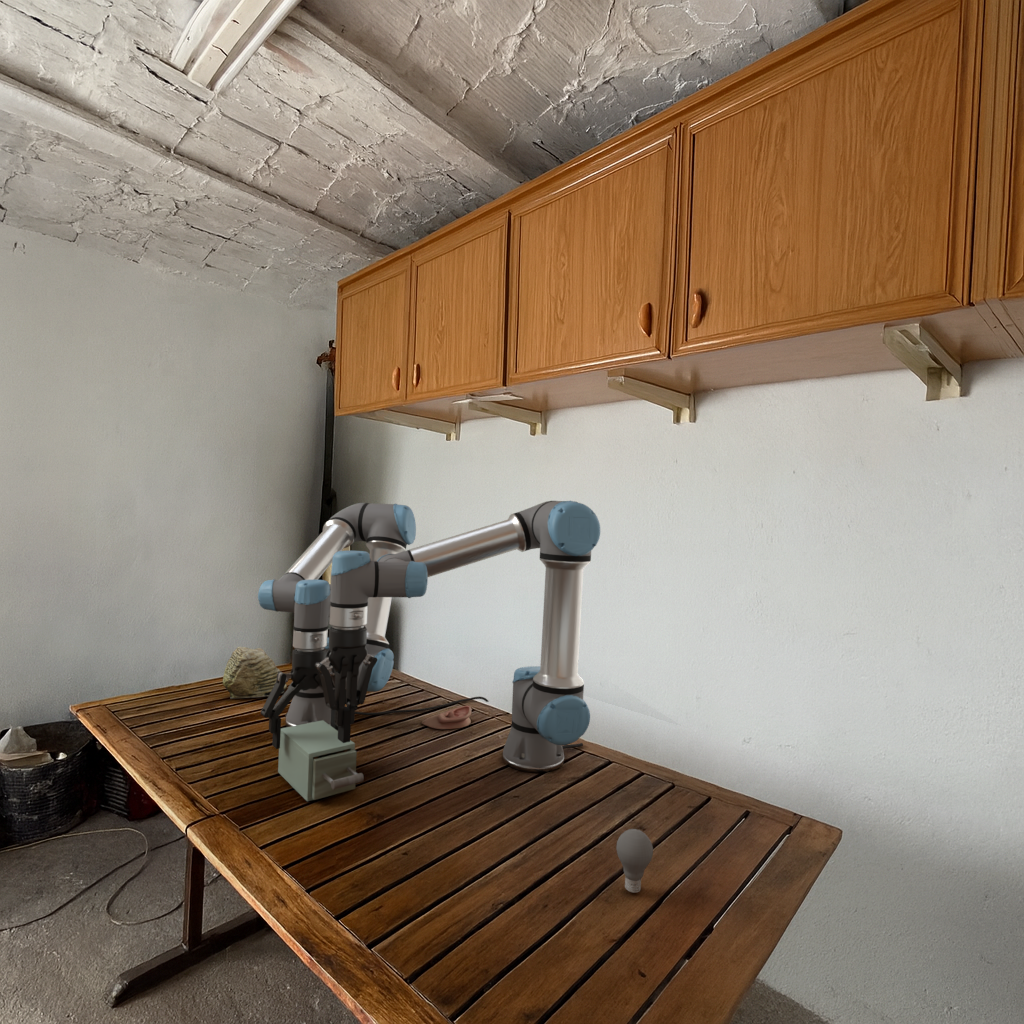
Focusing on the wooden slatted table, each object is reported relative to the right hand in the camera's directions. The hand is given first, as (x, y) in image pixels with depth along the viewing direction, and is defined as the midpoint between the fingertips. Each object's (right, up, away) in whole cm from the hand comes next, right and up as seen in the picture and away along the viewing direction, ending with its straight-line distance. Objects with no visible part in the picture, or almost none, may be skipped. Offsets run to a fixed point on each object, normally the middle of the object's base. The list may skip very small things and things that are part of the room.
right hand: (343, 740), depth 130 cm
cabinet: (-9, -13, +11) cm, 19 cm away
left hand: (-13, -5, +14) cm, 20 cm away
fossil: (-46, -10, +68) cm, 82 cm away
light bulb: (+55, -16, -25) cm, 62 cm away
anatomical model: (+16, -13, +50) cm, 54 cm away
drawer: (-6, -12, +6) cm, 15 cm away
